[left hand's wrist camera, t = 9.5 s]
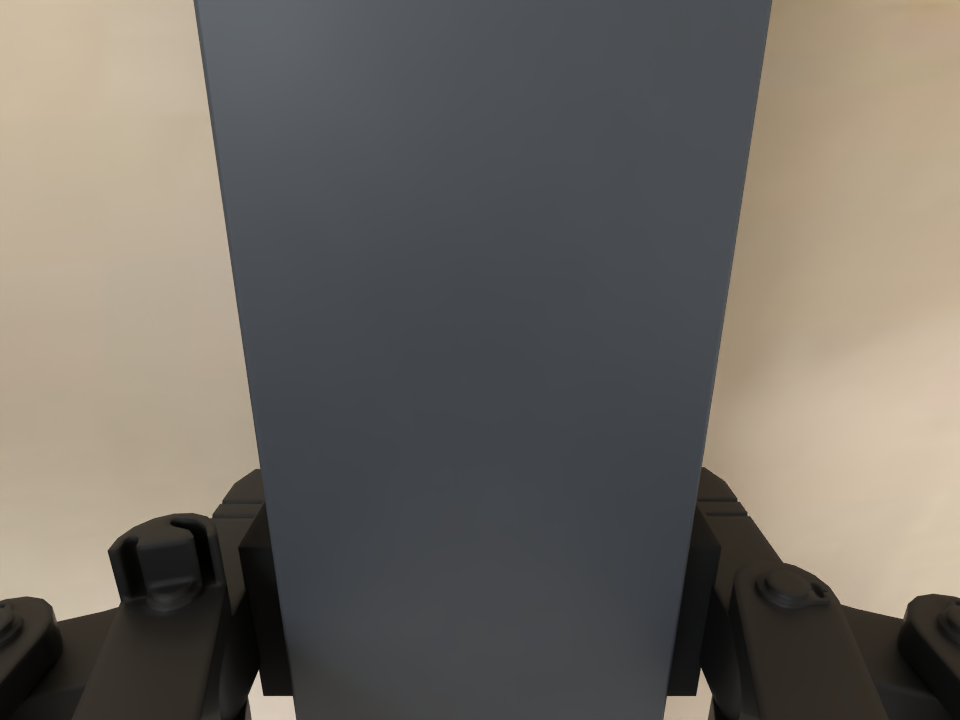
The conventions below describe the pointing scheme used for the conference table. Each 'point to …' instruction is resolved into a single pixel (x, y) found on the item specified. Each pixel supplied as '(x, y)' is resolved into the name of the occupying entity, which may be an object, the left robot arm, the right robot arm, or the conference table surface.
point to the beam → (481, 333)
